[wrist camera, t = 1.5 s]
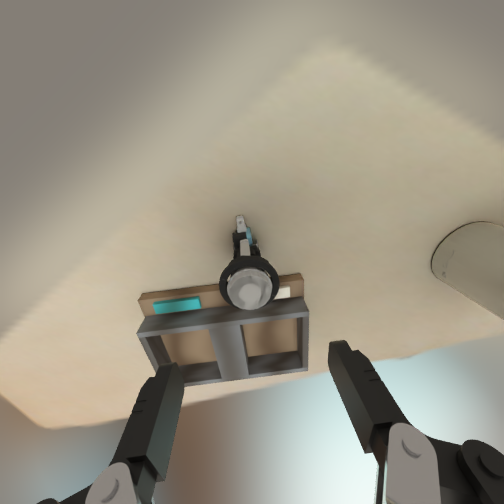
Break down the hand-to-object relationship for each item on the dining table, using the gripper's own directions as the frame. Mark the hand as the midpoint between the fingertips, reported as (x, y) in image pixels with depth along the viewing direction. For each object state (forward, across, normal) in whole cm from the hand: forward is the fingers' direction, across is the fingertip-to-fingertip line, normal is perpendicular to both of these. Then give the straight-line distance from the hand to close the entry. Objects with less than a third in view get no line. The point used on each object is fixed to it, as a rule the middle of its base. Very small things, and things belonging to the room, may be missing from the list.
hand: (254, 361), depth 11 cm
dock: (+17, +4, +14) cm, 22 cm away
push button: (+17, 0, 0) cm, 17 cm away
